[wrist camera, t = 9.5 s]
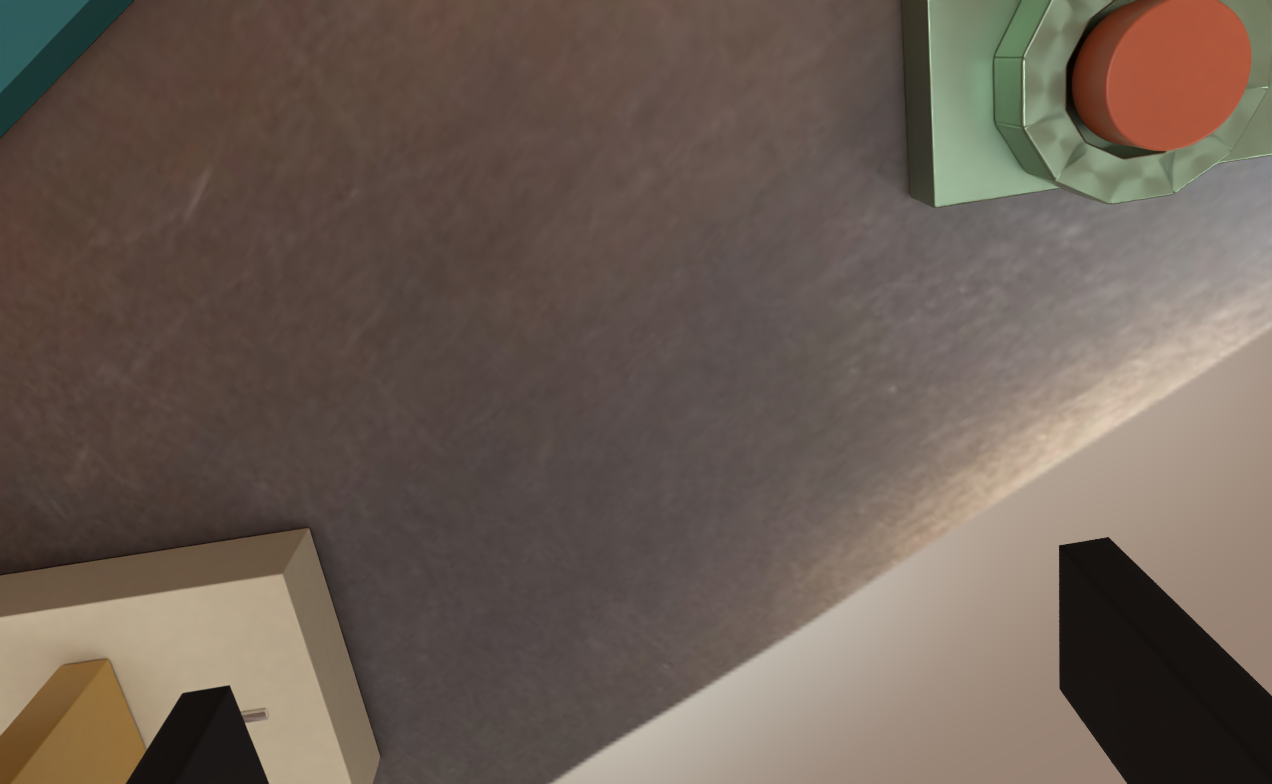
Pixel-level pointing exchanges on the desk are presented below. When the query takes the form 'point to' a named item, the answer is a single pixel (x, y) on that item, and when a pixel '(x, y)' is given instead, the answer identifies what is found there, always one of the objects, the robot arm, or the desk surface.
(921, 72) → the box
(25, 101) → the bracket
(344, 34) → the desk surface
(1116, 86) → the bell button
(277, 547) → the lock plate
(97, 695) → the tan box with red
